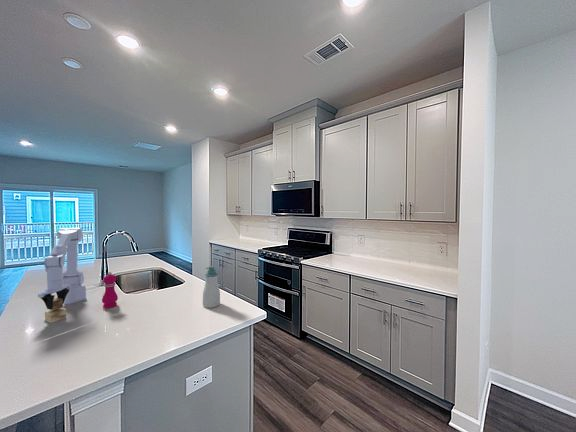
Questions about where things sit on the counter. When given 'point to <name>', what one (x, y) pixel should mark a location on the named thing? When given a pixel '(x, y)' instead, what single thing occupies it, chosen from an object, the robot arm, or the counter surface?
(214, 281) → the soap bottle
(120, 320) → the counter surface
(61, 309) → the oak base
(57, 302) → the walnut block
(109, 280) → the pepper mill
